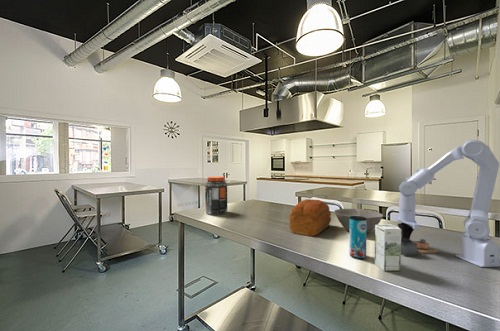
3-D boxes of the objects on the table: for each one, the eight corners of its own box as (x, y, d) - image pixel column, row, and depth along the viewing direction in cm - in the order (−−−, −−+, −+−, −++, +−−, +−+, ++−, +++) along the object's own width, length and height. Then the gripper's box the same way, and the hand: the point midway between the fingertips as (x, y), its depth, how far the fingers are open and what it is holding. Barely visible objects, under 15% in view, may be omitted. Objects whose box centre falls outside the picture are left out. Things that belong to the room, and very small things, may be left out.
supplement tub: (212, 210, 178) (212, 176, 177) (231, 211, 171) (231, 176, 171) (200, 214, 163) (200, 177, 163) (220, 216, 157) (220, 177, 156)
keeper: (416, 255, 90) (416, 242, 90) (404, 256, 90) (404, 243, 90) (402, 248, 98) (402, 236, 98) (391, 248, 97) (391, 236, 97)
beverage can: (356, 260, 86) (357, 220, 86) (346, 254, 92) (346, 216, 91) (370, 258, 88) (370, 218, 87) (358, 252, 93) (358, 215, 93)
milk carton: (390, 263, 83) (390, 223, 83) (401, 271, 77) (401, 228, 77) (374, 264, 83) (374, 223, 83) (384, 272, 77) (384, 228, 77)
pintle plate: (438, 253, 93) (438, 251, 93) (421, 253, 92) (421, 251, 92) (424, 246, 100) (424, 244, 99) (408, 247, 99) (408, 245, 99)
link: (426, 246, 97) (426, 238, 97) (430, 249, 93) (430, 241, 93) (388, 243, 101) (388, 235, 101) (391, 246, 97) (391, 238, 97)
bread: (332, 225, 134) (332, 198, 134) (317, 238, 112) (317, 205, 112) (305, 221, 143) (305, 195, 143) (286, 232, 121) (286, 202, 121)
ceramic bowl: (390, 239, 109) (390, 218, 108) (338, 236, 113) (338, 216, 113) (374, 226, 130) (374, 209, 130) (331, 224, 135) (331, 207, 135)
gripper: (388, 205, 106) (387, 235, 107) (406, 213, 92) (405, 247, 92) (405, 206, 106) (404, 235, 106) (425, 213, 91) (424, 248, 92)
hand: (405, 241), depth 99 cm, fingers closed, pressing on link
